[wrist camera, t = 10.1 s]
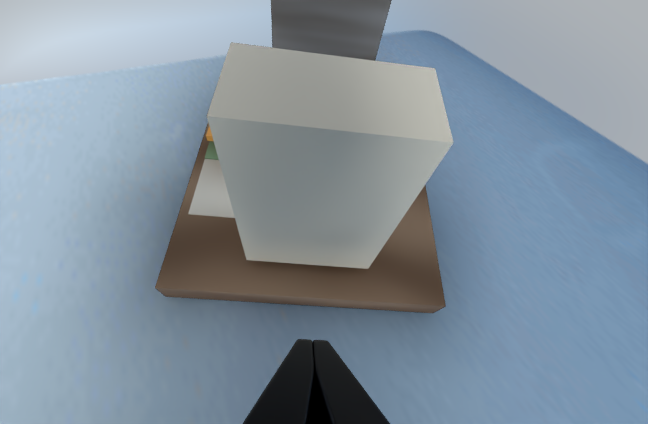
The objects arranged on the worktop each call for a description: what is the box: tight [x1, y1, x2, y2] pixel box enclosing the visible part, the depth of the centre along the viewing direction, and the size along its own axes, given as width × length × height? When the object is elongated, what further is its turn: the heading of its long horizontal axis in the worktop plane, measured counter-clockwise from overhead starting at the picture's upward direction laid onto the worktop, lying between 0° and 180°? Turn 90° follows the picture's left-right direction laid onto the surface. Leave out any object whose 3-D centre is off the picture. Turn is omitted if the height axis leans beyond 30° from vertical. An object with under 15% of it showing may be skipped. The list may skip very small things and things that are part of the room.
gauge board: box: [155, 0, 446, 313], centre depth 16 cm, size 16×14×10 cm
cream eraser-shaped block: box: [207, 43, 453, 269], centre depth 13 cm, size 7×6×9 cm
